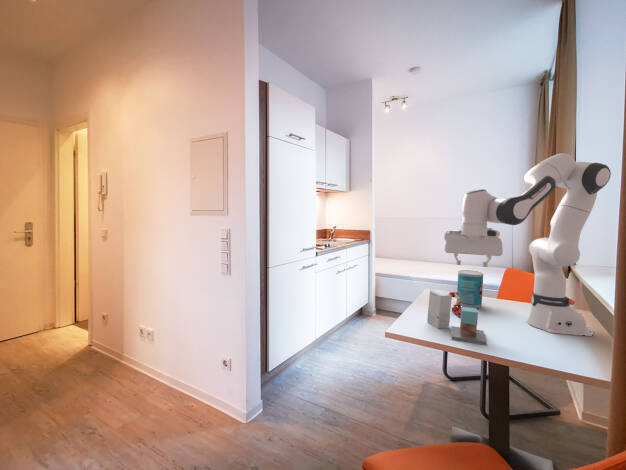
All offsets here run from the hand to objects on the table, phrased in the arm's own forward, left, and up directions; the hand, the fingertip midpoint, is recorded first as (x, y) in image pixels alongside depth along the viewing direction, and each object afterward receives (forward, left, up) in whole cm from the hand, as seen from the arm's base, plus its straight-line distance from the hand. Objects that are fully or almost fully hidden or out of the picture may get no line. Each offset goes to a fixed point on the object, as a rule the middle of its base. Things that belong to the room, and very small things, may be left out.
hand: (471, 265), depth 122 cm
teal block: (0, 0, -23) cm, 23 cm away
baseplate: (0, 0, -29) cm, 29 cm away
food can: (-3, -46, -29) cm, 55 cm away
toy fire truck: (+3, -28, -29) cm, 41 cm away
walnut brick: (0, 0, -28) cm, 28 cm away
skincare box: (+11, -8, -29) cm, 33 cm away
